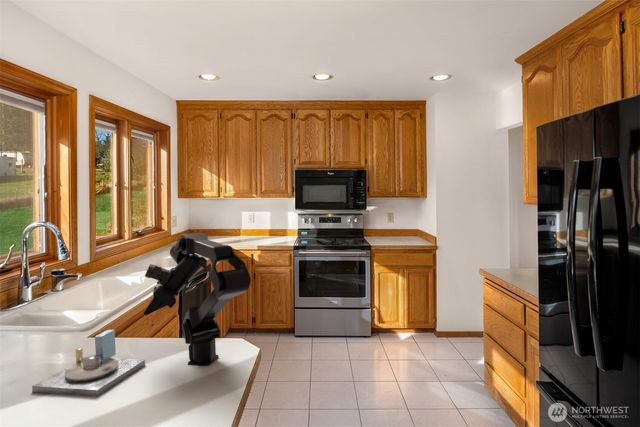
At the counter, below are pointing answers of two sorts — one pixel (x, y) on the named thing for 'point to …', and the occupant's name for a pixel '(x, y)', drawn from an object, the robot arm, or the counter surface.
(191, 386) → the counter surface
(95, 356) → the flange
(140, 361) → the locating plate
